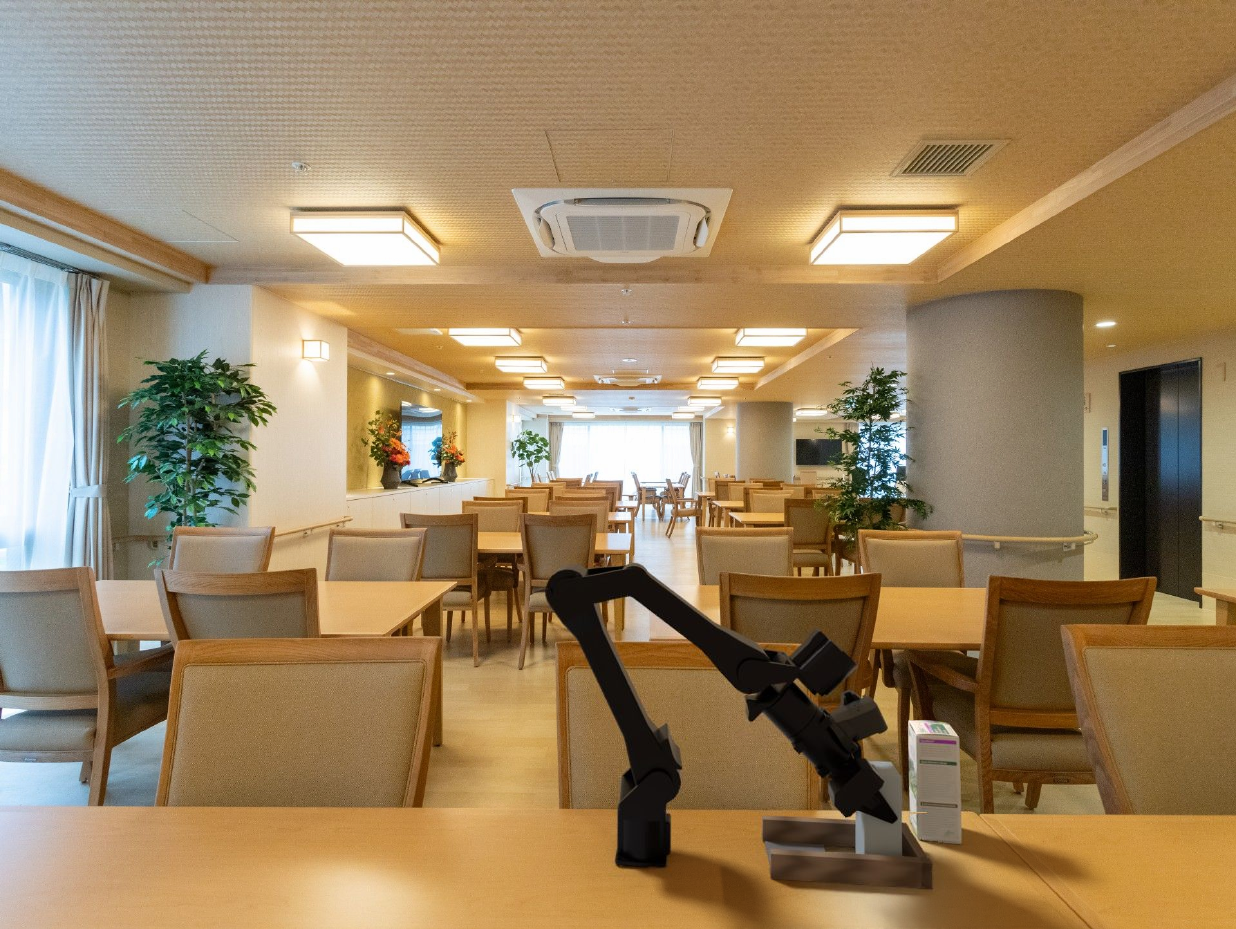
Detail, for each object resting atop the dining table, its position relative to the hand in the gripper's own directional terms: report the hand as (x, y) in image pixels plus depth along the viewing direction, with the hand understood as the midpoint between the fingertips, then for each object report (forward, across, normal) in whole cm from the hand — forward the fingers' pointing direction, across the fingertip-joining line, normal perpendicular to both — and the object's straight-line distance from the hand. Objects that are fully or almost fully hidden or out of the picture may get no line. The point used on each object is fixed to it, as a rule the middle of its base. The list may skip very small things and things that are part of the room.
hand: (889, 811), depth 88 cm
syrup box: (+11, +9, -1) cm, 14 cm away
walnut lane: (0, 0, +9) cm, 9 cm away
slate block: (+4, 0, +6) cm, 7 cm away
